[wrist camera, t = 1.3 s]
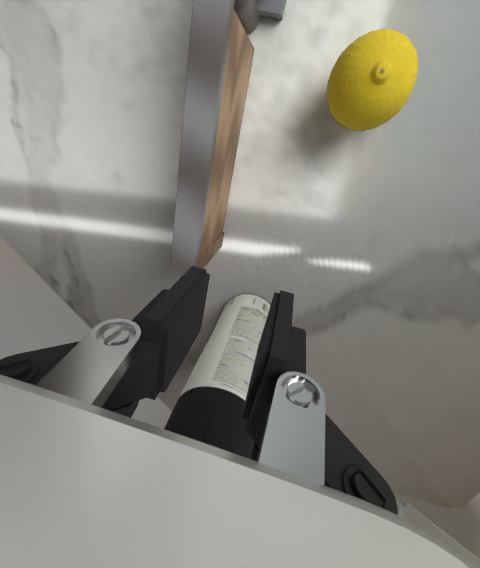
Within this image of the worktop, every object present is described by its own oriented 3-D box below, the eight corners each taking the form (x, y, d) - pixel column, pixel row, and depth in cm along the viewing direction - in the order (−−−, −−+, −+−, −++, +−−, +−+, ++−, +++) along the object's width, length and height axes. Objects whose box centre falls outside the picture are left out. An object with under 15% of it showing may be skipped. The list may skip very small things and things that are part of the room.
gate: (239, 3, 21) (197, -88, 13) (263, 8, 21) (237, -82, 13) (204, 241, 31) (167, 275, 22) (221, 245, 30) (190, 282, 22)
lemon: (375, 33, 21) (411, -26, 14) (408, 100, 22) (456, 78, 15) (311, 89, 23) (313, 64, 16) (344, 147, 24) (360, 147, 17)
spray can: (217, 295, 34) (125, 452, 17) (270, 287, 32) (229, 457, 14) (232, 339, 37) (165, 514, 19) (282, 334, 35) (258, 526, 17)
